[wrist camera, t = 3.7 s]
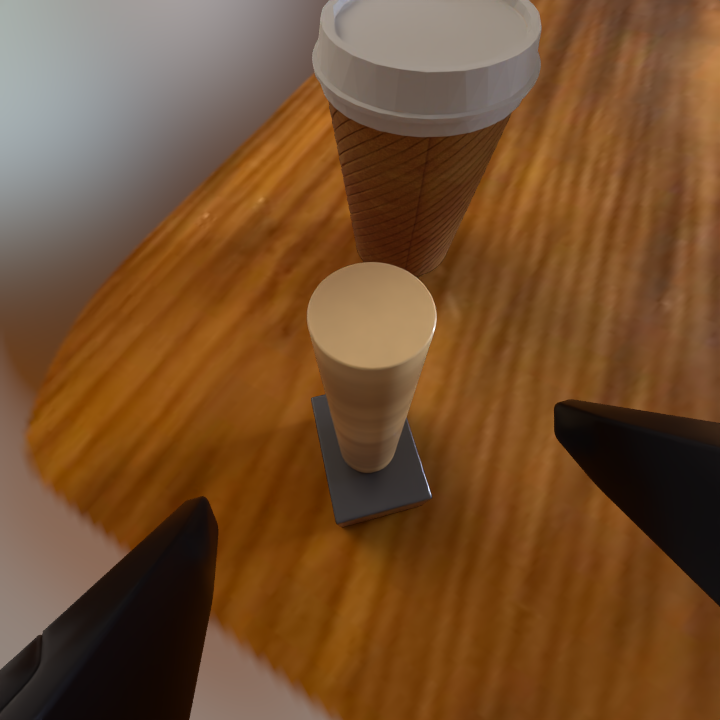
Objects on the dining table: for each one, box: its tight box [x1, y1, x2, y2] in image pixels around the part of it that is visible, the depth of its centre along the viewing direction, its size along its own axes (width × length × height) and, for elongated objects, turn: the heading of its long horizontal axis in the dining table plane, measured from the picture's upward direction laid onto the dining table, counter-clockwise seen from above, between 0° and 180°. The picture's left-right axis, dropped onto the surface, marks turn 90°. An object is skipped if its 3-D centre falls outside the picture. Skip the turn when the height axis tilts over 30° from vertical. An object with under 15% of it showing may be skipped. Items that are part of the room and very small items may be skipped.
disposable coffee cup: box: [312, 0, 541, 276], centre depth 20 cm, size 10×10×12 cm
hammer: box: [307, 262, 437, 527], centre depth 12 cm, size 6×4×13 cm
